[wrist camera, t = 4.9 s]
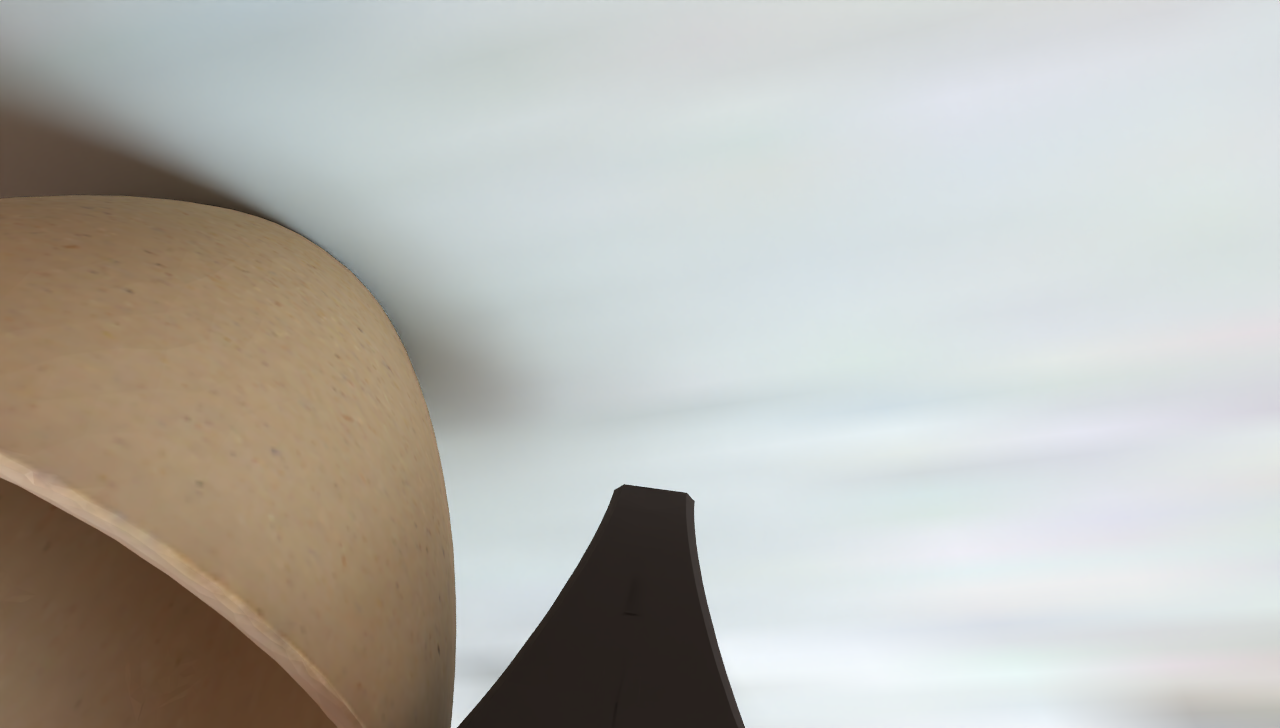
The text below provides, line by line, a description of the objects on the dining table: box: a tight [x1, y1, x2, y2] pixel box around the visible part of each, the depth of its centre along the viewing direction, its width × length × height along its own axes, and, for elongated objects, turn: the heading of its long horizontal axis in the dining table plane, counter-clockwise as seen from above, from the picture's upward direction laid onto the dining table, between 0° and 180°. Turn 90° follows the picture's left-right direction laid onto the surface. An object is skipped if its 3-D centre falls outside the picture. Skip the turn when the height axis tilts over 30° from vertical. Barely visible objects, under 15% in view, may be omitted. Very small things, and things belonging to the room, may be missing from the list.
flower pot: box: [0, 195, 456, 728], centre depth 12 cm, size 10×10×7 cm
